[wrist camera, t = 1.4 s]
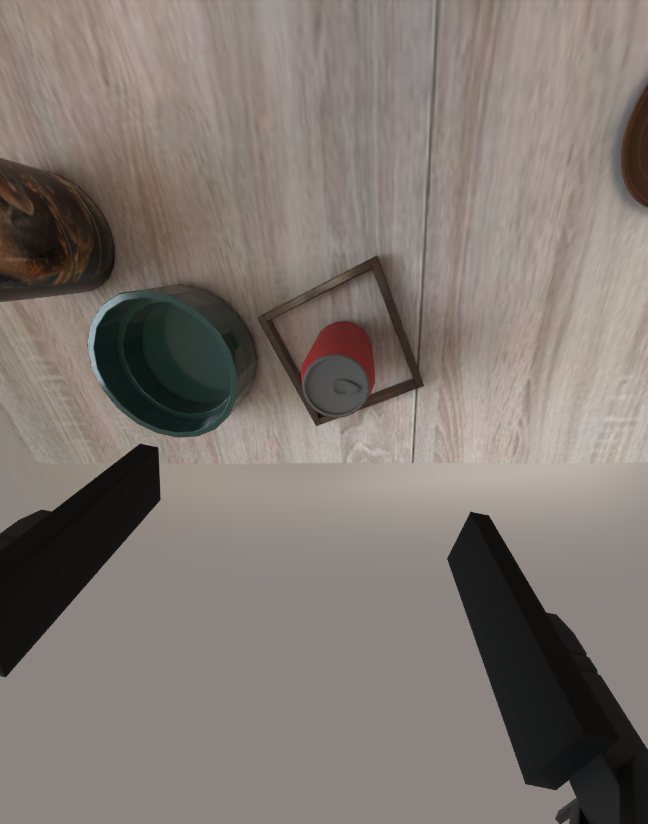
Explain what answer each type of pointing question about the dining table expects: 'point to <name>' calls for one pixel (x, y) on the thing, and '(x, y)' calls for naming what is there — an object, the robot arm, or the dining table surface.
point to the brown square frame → (371, 263)
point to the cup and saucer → (637, 151)
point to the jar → (49, 236)
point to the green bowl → (172, 358)
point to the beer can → (339, 370)
